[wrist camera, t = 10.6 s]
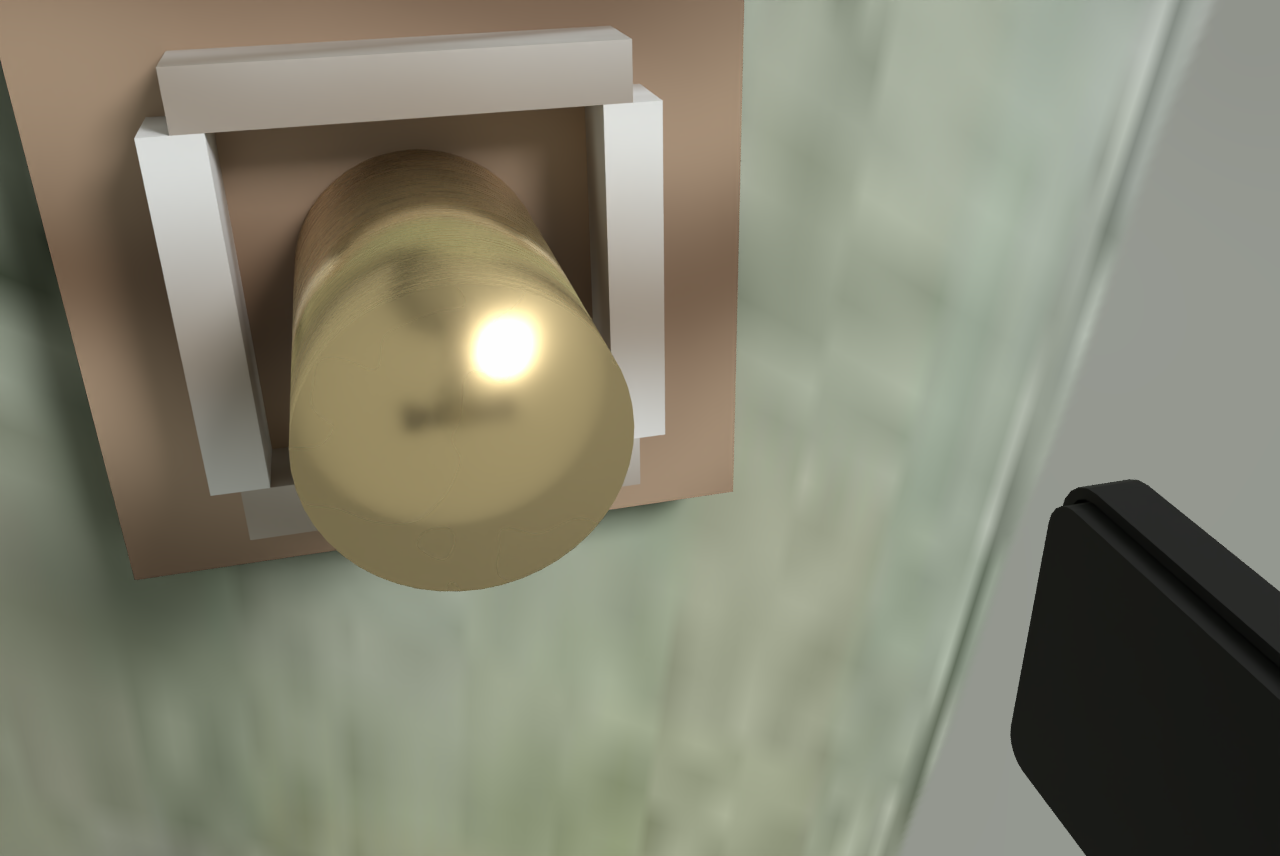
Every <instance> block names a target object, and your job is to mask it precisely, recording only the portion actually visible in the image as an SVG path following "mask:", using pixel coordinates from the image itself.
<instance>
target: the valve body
mask: <svg viewBox="0 0 1280 856" xmlns="http://www.w3.org/2000/svg"><path fill="white" fill-rule="evenodd" d="M633 444H634V415H633V406H632V401H631V397H630V393H629V389H628V386H627V383H626V381H625V378H624V376H623V373H622V371H621V369H620V367H619V365H618V364H617V362H616V360H615V358H614V357H613V355H612V353H611V352H610V350H609V348H608V346H607V345H606V343H605V341H604V340H603V338H602V336H601V335H600V333H599V331H598V329H597V328H596V326H595V324H594V323H593V321H592V319H591V318H590V316H589V314H588V313H587V311H586V309H585V307H584V306H583V304H582V302H581V301H580V299H579V297H578V296H577V294H576V292H575V290H574V289H573V287H572V285H571V284H570V282H569V280H568V279H567V277H566V275H565V274H564V272H563V270H562V268H561V267H560V265H559V263H558V262H557V260H556V258H555V257H554V255H553V253H552V251H551V250H550V248H549V246H548V245H547V243H546V241H545V240H544V238H543V236H542V235H541V233H540V231H539V229H538V228H537V226H536V224H535V223H534V221H533V219H532V218H531V216H530V214H529V212H528V211H527V209H526V207H525V206H524V204H523V202H522V201H521V200H520V199H519V197H518V196H517V195H516V194H515V192H514V191H513V190H512V189H511V188H510V187H509V186H508V185H507V184H506V183H505V182H504V181H503V180H502V179H501V178H499V177H498V176H497V175H495V174H494V173H493V172H491V171H490V170H488V169H487V168H485V167H483V166H481V165H480V164H478V163H476V162H474V161H472V160H469V159H467V158H464V157H462V156H459V155H455V154H451V153H447V152H443V151H436V150H428V149H408V150H401V151H394V152H389V153H386V154H382V155H378V156H375V157H373V158H370V159H368V160H366V161H363V162H361V163H359V164H357V165H356V166H354V167H352V168H350V169H349V170H347V171H345V172H344V173H343V174H342V175H340V176H339V177H338V178H337V179H335V180H334V181H333V182H332V183H331V184H330V185H329V186H328V187H327V188H326V189H325V190H324V191H323V192H322V193H321V194H320V196H319V197H318V198H317V200H316V201H315V203H314V204H313V205H312V207H311V208H310V210H309V212H308V214H307V216H306V218H305V220H304V222H303V225H302V227H301V230H300V233H299V236H298V240H297V245H296V250H295V262H294V290H293V323H292V356H291V390H290V423H289V457H290V468H291V473H292V477H293V481H294V485H295V489H296V492H297V494H298V496H299V499H300V501H301V503H302V506H303V508H304V510H305V512H306V513H307V515H308V516H309V518H310V520H311V521H312V523H313V525H314V526H315V527H316V529H317V530H318V531H319V532H320V533H321V535H322V536H323V537H324V538H325V539H326V541H327V542H328V543H329V544H331V545H332V546H333V547H334V548H335V549H336V550H337V551H338V552H339V553H340V554H342V555H343V556H344V557H346V558H347V559H349V560H350V561H351V562H353V563H354V564H356V565H357V566H359V567H360V568H362V569H364V570H366V571H368V572H370V573H372V574H374V575H376V576H378V577H381V578H383V579H386V580H389V581H391V582H394V583H397V584H401V585H405V586H409V587H413V588H418V589H426V590H434V591H468V590H478V589H484V588H489V587H494V586H499V585H503V584H506V583H509V582H512V581H515V580H518V579H521V578H524V577H526V576H528V575H530V574H533V573H535V572H537V571H539V570H542V569H543V568H545V567H547V566H548V565H550V564H552V563H553V562H555V561H557V560H559V559H560V558H561V557H563V556H564V555H565V554H567V553H568V552H569V551H571V550H572V549H574V548H575V547H576V546H577V545H578V544H579V543H580V542H581V541H583V540H584V539H585V538H586V537H587V536H588V535H589V534H590V533H591V532H592V531H593V530H594V528H595V527H596V526H597V525H598V524H599V522H600V521H601V520H602V519H603V518H604V516H605V515H606V513H607V512H608V510H609V509H610V507H611V506H612V504H613V503H614V501H615V499H616V497H617V495H618V493H619V491H620V489H621V487H622V485H623V483H624V480H625V477H626V474H627V471H628V468H629V465H630V460H631V455H632V450H633Z"/></svg>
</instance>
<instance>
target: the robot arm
mask: <svg viewBox="0 0 1280 856" xmlns="http://www.w3.org/2000/svg"><path fill="white" fill-rule="evenodd" d="M1011 744H1012V748H1013V751H1014V755H1015V757H1016V760H1017V762H1018V764H1019V766H1020V767H1021V769H1022V771H1023V772H1024V773H1025V775H1026V776H1027V777H1028V779H1029V780H1030V781H1031V783H1032V784H1033V785H1034V787H1035V788H1036V789H1037V791H1038V792H1039V793H1040V795H1041V796H1042V797H1043V799H1044V800H1045V801H1046V803H1047V804H1048V805H1049V807H1050V808H1051V809H1052V811H1053V812H1054V813H1055V815H1056V816H1057V817H1058V819H1059V820H1060V821H1061V823H1062V824H1063V825H1064V827H1065V828H1066V829H1067V831H1068V832H1069V833H1070V835H1071V836H1072V837H1073V839H1074V840H1075V841H1076V843H1077V844H1078V845H1079V847H1080V848H1081V849H1082V851H1083V852H1084V853H1085V855H1086V856H1280V591H1278V590H1277V589H1276V588H1275V587H1273V586H1272V585H1271V584H1270V583H1268V582H1267V581H1266V580H1265V579H1263V578H1262V577H1261V576H1260V575H1259V574H1257V573H1256V572H1255V571H1254V570H1252V569H1251V568H1250V567H1249V566H1247V565H1246V564H1245V563H1244V562H1242V561H1241V560H1240V559H1239V558H1237V557H1236V556H1235V555H1234V554H1232V553H1231V552H1230V551H1229V550H1227V549H1226V548H1225V547H1224V546H1223V545H1221V544H1220V543H1219V542H1217V541H1216V540H1215V539H1214V538H1212V537H1211V536H1210V535H1209V534H1208V533H1206V532H1205V531H1204V530H1203V529H1201V528H1200V527H1199V526H1198V525H1196V524H1195V523H1194V522H1193V521H1191V520H1190V519H1189V518H1188V517H1186V516H1185V515H1184V514H1183V513H1181V512H1180V511H1179V510H1178V509H1177V508H1175V507H1174V506H1173V505H1172V504H1170V503H1169V502H1168V501H1167V500H1165V499H1164V498H1163V497H1162V496H1160V495H1159V494H1158V493H1157V492H1155V491H1154V490H1153V489H1152V488H1150V487H1149V486H1148V485H1146V484H1145V483H1143V482H1141V481H1139V480H1130V479H1129V480H1123V481H1117V482H1110V483H1104V484H1098V485H1092V486H1085V487H1078V488H1076V489H1074V490H1072V491H1071V492H1070V493H1069V494H1068V496H1067V497H1066V498H1065V501H1064V504H1063V506H1061V507H1059V508H1056V509H1055V511H1054V512H1053V513H1052V515H1051V517H1050V520H1049V524H1048V530H1047V535H1046V541H1045V547H1044V551H1043V556H1042V562H1041V568H1040V573H1039V578H1038V583H1037V589H1036V594H1035V600H1034V605H1033V611H1032V616H1031V621H1030V627H1029V632H1028V637H1027V643H1026V648H1025V654H1024V659H1023V664H1022V670H1021V675H1020V681H1019V686H1018V692H1017V698H1016V702H1015V707H1014V713H1013V718H1012V724H1011Z"/></svg>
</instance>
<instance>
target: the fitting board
mask: <svg viewBox="0 0 1280 856" xmlns="http://www.w3.org/2000/svg"><path fill="white" fill-rule="evenodd" d="M743 27H744V0H0V60H1V64H2V68H3V72H4V76H5V80H6V84H7V87H8V91H9V95H10V99H11V103H12V107H13V111H14V115H15V118H16V122H17V126H18V130H19V134H20V138H21V142H22V146H23V149H24V153H25V157H26V161H27V165H28V169H29V173H30V177H31V180H32V184H33V188H34V192H35V196H36V200H37V204H38V208H39V211H40V215H41V219H42V223H43V227H44V231H45V235H46V239H47V242H48V246H49V250H50V254H51V258H52V262H53V266H54V269H55V273H56V277H57V281H58V285H59V289H60V293H61V297H62V300H63V304H64V308H65V312H66V316H67V320H68V324H69V328H70V331H71V335H72V339H73V343H74V347H75V351H76V355H77V359H78V362H79V366H80V370H81V374H82V378H83V382H84V386H85V390H86V393H87V397H88V401H89V405H90V409H91V413H92V417H93V421H94V424H95V428H96V432H97V436H98V440H99V444H100V448H101V452H102V455H103V459H104V463H105V467H106V471H107V475H108V479H109V482H110V486H111V490H112V494H113V498H114V502H115V506H116V510H117V513H118V517H119V521H120V525H121V529H122V533H123V537H124V541H125V544H126V548H127V552H128V556H129V560H130V564H131V568H132V572H133V575H134V579H135V580H139V579H146V578H153V577H159V576H166V575H173V574H180V573H186V572H193V571H200V570H207V569H213V568H220V567H227V566H234V565H240V564H247V563H254V562H261V561H267V560H274V559H281V558H287V557H294V556H301V555H308V554H314V553H321V552H328V551H335V550H336V549H335V548H334V547H333V546H332V545H331V544H329V543H328V542H327V541H326V539H325V538H324V537H323V536H322V535H321V533H320V532H319V531H318V530H317V529H316V527H315V526H314V525H313V523H312V521H311V520H310V518H309V516H308V515H307V513H306V512H305V510H304V508H303V506H302V503H301V501H300V499H299V496H298V494H297V492H296V489H295V485H294V481H293V477H292V473H291V468H290V457H289V423H290V390H291V356H292V323H293V290H294V262H295V250H296V245H297V240H298V236H299V233H300V230H301V227H302V225H303V222H304V220H305V218H306V216H307V214H308V212H309V210H310V208H311V207H312V205H313V204H314V203H315V201H316V200H317V198H318V197H319V196H320V194H321V193H322V192H323V191H324V190H325V189H326V188H327V187H328V186H329V185H330V184H331V183H332V182H333V181H334V180H335V179H337V178H338V177H339V176H340V175H342V174H343V173H344V172H345V171H347V170H349V169H350V168H352V167H354V166H356V165H357V164H359V163H361V162H363V161H366V160H368V159H370V158H373V157H375V156H378V155H382V154H386V153H389V152H394V151H401V150H408V149H428V150H436V151H443V152H447V153H451V154H455V155H459V156H462V157H464V158H467V159H469V160H472V161H474V162H476V163H478V164H480V165H481V166H483V167H485V168H487V169H488V170H490V171H491V172H493V173H494V174H495V175H497V176H498V177H499V178H501V179H502V180H503V181H504V182H505V183H506V184H507V185H508V186H509V187H510V188H511V189H512V190H513V191H514V192H515V194H516V195H517V196H518V197H519V199H520V200H521V201H522V202H523V204H524V206H525V207H526V209H527V211H528V212H529V214H530V216H531V218H532V219H533V221H534V223H535V224H536V226H537V228H538V229H539V231H540V233H541V235H542V236H543V238H544V240H545V241H546V243H547V245H548V246H549V248H550V250H551V251H552V253H553V255H554V257H555V258H556V260H557V262H558V263H559V265H560V267H561V268H562V270H563V272H564V274H565V275H566V277H567V279H568V280H569V282H570V284H571V285H572V287H573V289H574V290H575V292H576V294H577V296H578V297H579V299H580V301H581V302H582V304H583V306H584V307H585V309H586V311H587V313H588V314H589V316H590V318H591V319H592V321H593V323H594V324H595V326H596V328H597V329H598V331H599V333H600V335H601V336H602V338H603V340H604V341H605V343H606V345H607V346H608V348H609V350H610V352H611V353H612V355H613V357H614V358H615V360H616V362H617V364H618V365H619V367H620V369H621V371H622V373H623V376H624V378H625V381H626V383H627V386H628V389H629V393H630V397H631V401H632V406H633V415H634V444H633V450H632V455H631V460H630V465H629V468H628V471H627V474H626V477H625V480H624V483H623V485H622V487H621V489H620V491H619V493H618V495H617V497H616V499H615V501H614V503H613V504H612V506H611V507H610V509H609V510H611V509H618V508H625V507H631V506H638V505H645V504H652V503H658V502H665V501H672V500H679V499H685V498H692V497H699V496H706V495H712V494H719V493H726V492H733V466H734V422H735V378H736V334H737V290H738V246H739V203H740V159H741V115H742V71H743Z"/></svg>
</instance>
